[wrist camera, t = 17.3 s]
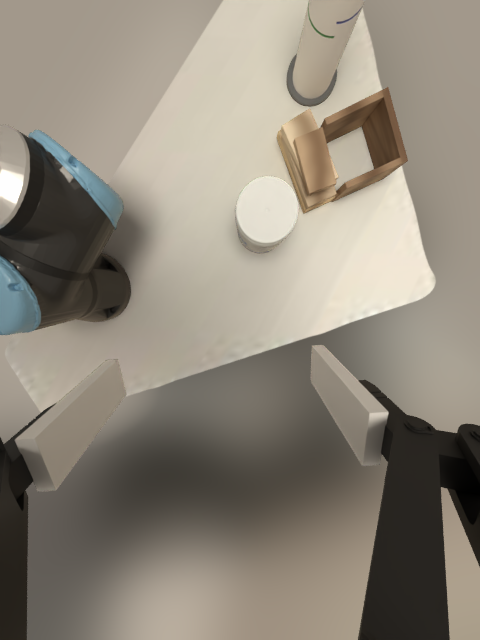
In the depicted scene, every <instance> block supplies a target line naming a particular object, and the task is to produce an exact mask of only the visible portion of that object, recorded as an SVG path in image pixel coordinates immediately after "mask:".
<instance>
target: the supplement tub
mask: <svg viewBox="0 0 480 640" xmlns="http://www.w3.org/2000/svg"><path fill="white" fill-rule="evenodd" d="M298 213H299V205H298V199H297V196H296V194H295V192H294V190H293V189H292V187H291V186H290V185H289V184H288V183H287V182H285V181H284V180H282V179H280V178H278V177H274V176H262V177H259V178H256V179H254V180H252V181H251V182H249V183H248V184H247V185H246V186H245V187H244V189H243V190H242V191H241V193H240V195H239V197H238V200H237V204H236V208H235V218H236V224H237V230H238V235H239V238H240V240H241V242H242V243H243V245H244V246H245V247H246V248H247V249H249V250H250V251H253V252H256V253H265V252H269V251H271V250H272V249H274V248H275V247H276V246H277V245H279V244H280V243H281V242H282V241H283V240H284V239H285V238H286V237H287V236H288V235H289V234H290V233H291V231H292V230H293V228H294V226H295V224H296V221H297V218H298Z"/></svg>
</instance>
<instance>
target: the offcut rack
mask: <svg viewBox="0 0 480 640" xmlns="http://www.w3.org/2000/svg"><path fill="white" fill-rule="evenodd" d="M361 126H362V128H363V132H364V135H365V138H366V142H367V145H368V149H369V152H370V155H371V159H372V162H373V166H374V170H372V171H370V172H367V173H365V174H363V175H361V176H359V177H356V178H354V179H352V180H350V181H348V182H346V183H344V184H343V185H342V186H341V187H340V188H339V189H338V190H337V191H336V190H335V187H334V185H335V184H336V179H337V178H338V177H339V176H338V174H337V172H336V169H335V167H334V165H333V162H332V160H331V157H330V155H329V151H328V147H327V143H328V142H330V141H332V140H334V139H336V138H338V137H340V136H342V135H344V134H346V133H349V132H351V131H353V130H355V129H357V128H359V127H361ZM277 140H278V143H279V146H280V148H281V151H282V154H283V157H284V160H285V163H286V165H287V168H288V171H289V174H290V177H291V179H292V182H293V185H294V188H295V191H296V194H297V196H298V199H299V202H300V205H301V208H302V211H303V213H306V212H308V211H310V210H312V209H315V208H317V207H319V206H321V205H324V204H326V203H328V202H330V201H332V202H333V201H335V200H338V199H340V198H342V197H344V196H346V195H349V194H351V193H353V192H355V191H358V190H360V189H362V188H364V187H366V186H369V185H371V184H373V183H375V182H377V181H380V180H382V179H384V178H385V177H386V176H388V175H389V174H391V173H392V172H393V171H395V170H396V169H397V168H399V167H400V166H401V165H403V164H404V163H406V162H407V161H408V160H407V155H406V152H405V148H404V145H403V141H402V137H401V133H400V130H399V126H398V122H397V119H396V115H395V111H394V108H393V104H392V100H391V96H390V93H389V89H388V87H387V88H386V89H383V90H381V91H379V92H377V93H375V94H373V95H371V96H369V97H367V98H365V99H363V100H361V101H359V102H357V103H355V104H353V105H351V106H349V107H347V108H345V109H343V110H341V111H339V112H337V113H335V114H333V115H331V116H329V117H327V118H325V119H324V121H323V123H322V125H321V128H319V129H318V127H317V124H316V122H315V119H314V117H313V115H312V112H311V110H310V109H308V110H306V111H305V112H303V113H302V114H300V115H298V116H297V117H295V118H294V119H292V120H290V121H289V122H287V123H285V124H284V125H282V128H281V130H280V131H278V135H277Z"/></svg>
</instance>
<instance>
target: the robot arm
mask: <svg viewBox="0 0 480 640" xmlns="http://www.w3.org/2000/svg"><path fill="white" fill-rule="evenodd" d="M122 212H123V202H122V200H121V198H120V197H119V195H118V194H117V193H116V192H115V191H114V190H113V189H112V188H110V187H109V186H108V185H107V184H106V183H105V182H104V181H103V180H102V179H100V178H99V177H98V176H97V175H96V174H95V173H93V172H92V171H91V170H90V169H89V168H87V167H86V166H85V165H84V164H82V163H81V162H80V161H78V160H77V159H76V158H75V157H74V156H73V155H71V154H70V153H69V152H68V151H67V150H66V149H64V148H63V147H62V146H61V145H59V144H58V143H57V142H56V141H54V140H53V139H52V138H51V137H49V136H48V135H47V134H45V133H44V132H42V131H40V130H34V132H33V133H30V134H29V138H28V137H27V136H25V135H23V134H22V133H21V132H19V131H18V130H16V129H15V128H13V127H11V126H8V125H0V335H10V334H15V333H21V332H22V333H25V332H31V331H34V330H37V329H41V328H45V327H49V326H52V325H56V324H60V323H64V322H68V321H71V320H75V319H78V320H84V321H90V322H100V321H105V320H108V319H112V318H114V317H116V316H118V315H119V314H120V313H121V312H122V311H123V310H124V309H125V308H126V306H127V304H128V302H129V298H130V282H129V279H128V276H127V274H126V272H125V270H124V269H123V268H122V266H121V265H120V264H119V263H118V262H117V261H116V260H114V259H113V258H111V257H110V256H108V255H105V254H102V253H101V252H102V250H103V248H104V246H105V245H106V243H107V241H108V239H109V237H110V236H111V234H112V232H113V230H115V229H116V227H117V222H118V220H119V218H120V216H121V214H122ZM311 383H312V384H313V386H314V387H315V389H316V391H317V392H318V394H319V396H320V397H321V399H322V400H323V402H324V404H325V405H326V407H327V409H328V410H329V412H330V414H331V415H332V417H333V418H334V420H335V422H336V424H337V425H338V427H339V428H340V430H341V432H342V433H343V435H344V437H345V438H346V440H347V442H348V443H349V445H350V447H351V448H352V450H353V451H354V453H355V455H356V456H357V458H358V459H359V461H360V463H361V465H362V466H368V465H380V460H381V454H382V455H383V456H384V457H385V459H386V460H387V461H388V466H387V471H386V477H385V483H384V489H383V495H382V501H381V507H380V513H379V519H378V525H377V530H376V536H375V542H374V548H373V554H372V560H371V566H370V572H369V578H368V583H367V590H366V595H365V601H364V607H363V613H362V619H361V625H360V631H359V636H358V640H449V622H448V605H447V587H446V570H445V555H444V537H443V520H442V503H441V487H444V488H447V489H448V491H449V493H450V496H451V498H452V501H453V503H454V506H455V508H456V510H457V513H458V515H459V518H460V520H461V522H462V525H463V527H464V529H465V532H466V535H467V537H468V539H469V542H470V544H471V547H472V549H473V552H474V554H475V556H476V559H477V561H478V563H479V566H480V426H478V425H474V424H463V425H461V426H460V427H459V429H458V432H457V433H451V432H445V431H439V430H436V429H435V428H433V426H431V424H429V423H427V422H426V421H424V420H422V419H420V418H417V417H414V416H409V415H406V414H405V413H404V412H403V411H402V410H401V409H399V407H397V406H396V405H395V404H394V403H393V402H392V401H391V400H390V399H389V398H387V396H386V395H385V394H383V393H381V391H380V390H379V389H378V388H377V387H376V386H375V385H373V384H371V383H370V382H368V381H366V380H359V381H358V380H357V379H356V378H355V377H354V376H353V375H352V374H351V373H350V372H349V371H348V370H347V369H346V368H345V367H344V366H343V365H342V364H341V363H340V362H339V361H338V360H337V359H336V358H335V357H334V356H333V355H332V354H331V353H330V352H329V351H328V349H326V347H324V346H323V345H317V346H312V359H311ZM125 396H126V390H125V386H124V382H123V378H122V374H121V370H120V366H119V362H118V359H114V360H106V361H105V362H104V363H102V364H101V365H100V366H99V367H98V368H97V369H96V370H94V371H93V372H92V373H91V374H90V375H89V376H87V377H86V378H85V379H84V380H83V381H82V382H81V383H79V384H78V385H77V386H76V387H75V388H74V389H73V390H71V391H70V392H69V393H68V394H67V395H66V396H64V397H63V398H62V399H61V400H60V401H59V402H58V403H55V404H54V405H52V406H50V407H49V408H47V409H45V410H44V411H43V412H42V413H40V414H39V415H38V416H37V417H36V419H33V420H32V421H31V422H30V423H29V424H28V425H27V426H25V427H24V428H23V429H22V430H20V431H19V432H18V433H17V434H16V435H14V436H13V437H12V438H11V439H10V440H9V441H7V442H6V443H5V444H3V442H2V440H1V438H0V640H27V556H28V555H27V554H28V495H27V493H26V491H25V490H26V489H27V488H28V486H29V485H30V484H31V483H32V482H34V485H35V487H36V489H37V491H38V492H41V491H54V490H57V488H58V487H59V486H60V484H61V483H62V482H63V480H64V479H65V478H66V476H67V475H68V473H69V472H70V471H71V469H72V468H73V466H74V465H75V464H76V462H77V461H78V460H79V458H80V457H81V456H82V454H83V453H84V451H85V450H86V449H87V447H88V446H89V445H90V443H91V442H92V441H93V439H94V438H95V437H96V435H97V434H98V433H99V431H100V430H101V428H102V427H103V426H104V424H105V423H106V422H107V420H108V419H109V417H110V416H111V415H112V413H113V412H114V411H115V409H116V408H117V407H118V405H119V404H120V403H121V401H122V400H123V398H124V397H125Z"/></svg>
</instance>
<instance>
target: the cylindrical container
mask: <svg viewBox="0 0 480 640" xmlns="http://www.w3.org/2000/svg"><path fill="white" fill-rule="evenodd" d="M364 2H365V0H309V3H308V7H307V12H306V16H305V21H304V25H303V30H302V34H301V39H300V43H299V48H298V52H297V57H296V61H295V66H294V71H293V85H294V87H295V90H296V91H297V92H298V93H299V94H300V95H301V96H302V97H304V98H307V99H313V98H317V97H319V96H321V95H322V94H323V93H324V92H325V91H326V90H327V89H328V87H329V85H330V83H331V80H332V78H333V75H334V73H335V71H336V68H337V66H338V64H339V61H340V59H341V57H342V54H343V52H344V49H345V47H346V45H347V42H348V40H349V38H350V35H351V33H352V31H353V28H354V26H355V24H356V21H357V19H358V16H359V14H360V12H361V9H362V7H363V5H364Z"/></svg>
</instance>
